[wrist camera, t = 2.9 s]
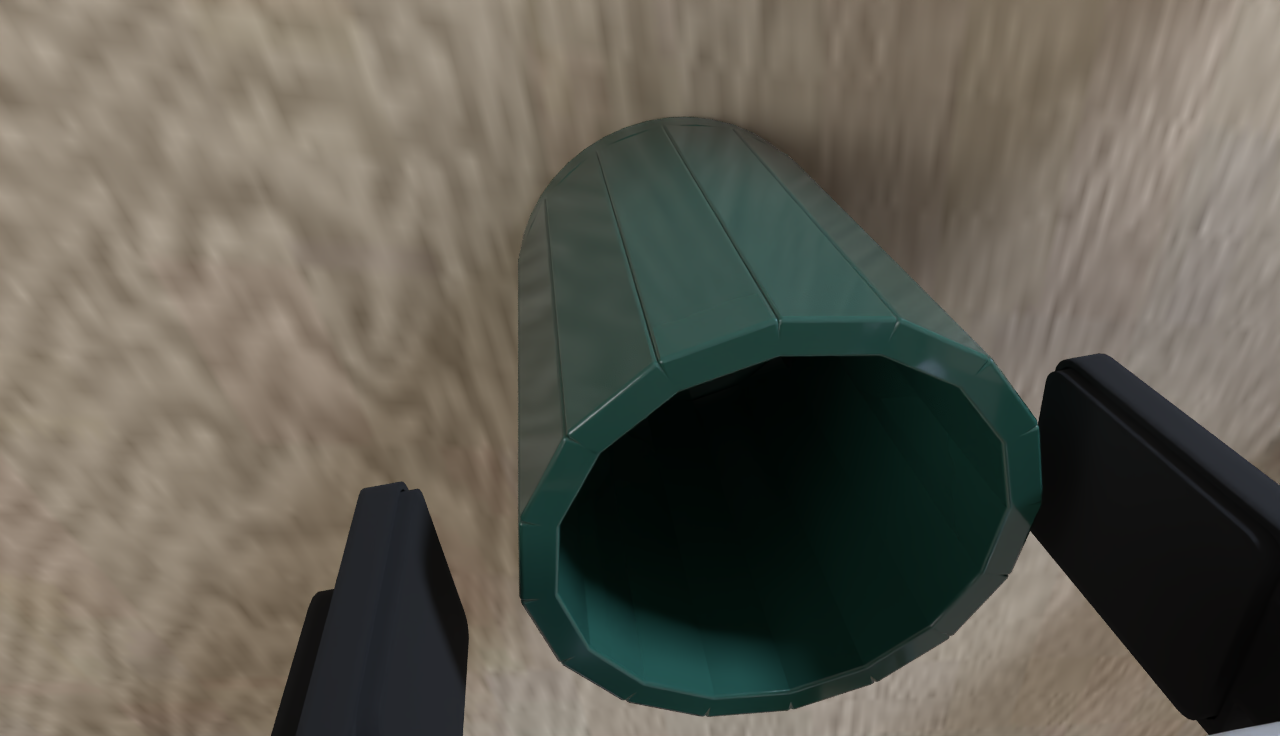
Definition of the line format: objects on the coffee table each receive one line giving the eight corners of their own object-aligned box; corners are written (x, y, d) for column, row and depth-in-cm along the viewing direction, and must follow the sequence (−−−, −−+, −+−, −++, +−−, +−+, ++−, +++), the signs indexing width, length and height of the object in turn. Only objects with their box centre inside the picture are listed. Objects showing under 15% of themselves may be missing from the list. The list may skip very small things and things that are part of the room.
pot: (697, 39, 15) (870, 188, 7) (879, 274, 18) (1121, 536, 11) (450, 271, 16) (399, 570, 9) (656, 447, 20) (735, 769, 12)
